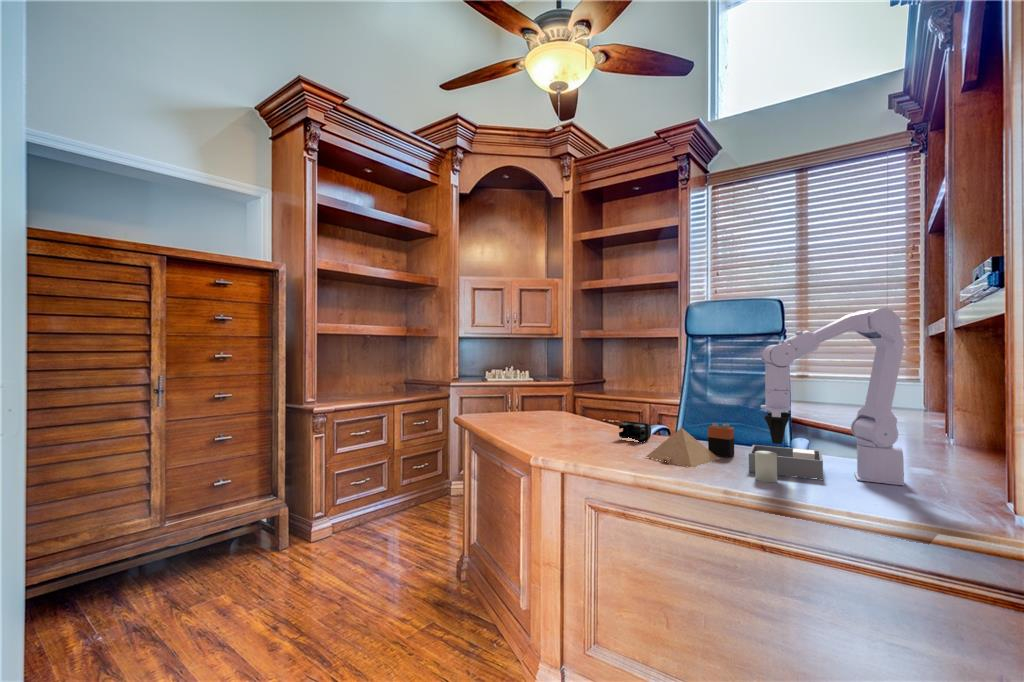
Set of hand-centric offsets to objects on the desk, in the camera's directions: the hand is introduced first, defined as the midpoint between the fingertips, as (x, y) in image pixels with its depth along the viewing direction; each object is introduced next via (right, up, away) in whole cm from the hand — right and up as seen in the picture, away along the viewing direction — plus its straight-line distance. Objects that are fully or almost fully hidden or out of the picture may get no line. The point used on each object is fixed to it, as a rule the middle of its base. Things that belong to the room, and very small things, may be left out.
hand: (777, 441), depth 125 cm
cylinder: (-4, -10, -2) cm, 11 cm away
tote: (+6, -10, +7) cm, 13 cm away
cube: (+10, -9, +4) cm, 14 cm away
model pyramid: (-18, -11, +21) cm, 30 cm away
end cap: (-25, -11, +50) cm, 57 cm away
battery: (-4, -10, +25) cm, 28 cm away
